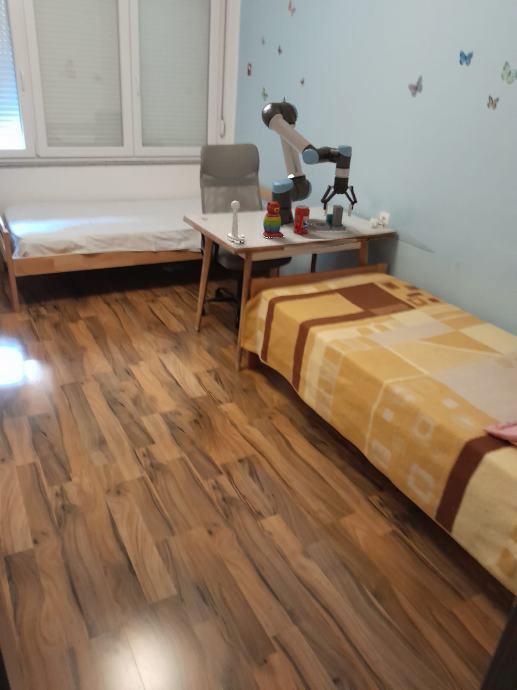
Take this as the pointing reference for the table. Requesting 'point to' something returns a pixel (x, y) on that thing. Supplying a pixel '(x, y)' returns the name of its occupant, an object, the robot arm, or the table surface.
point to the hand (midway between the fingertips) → (337, 216)
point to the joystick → (235, 223)
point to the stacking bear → (272, 221)
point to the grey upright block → (337, 215)
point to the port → (329, 222)
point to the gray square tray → (324, 227)
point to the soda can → (301, 220)
